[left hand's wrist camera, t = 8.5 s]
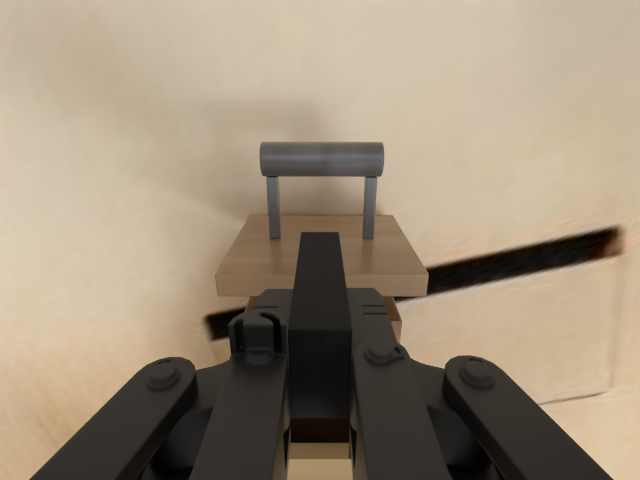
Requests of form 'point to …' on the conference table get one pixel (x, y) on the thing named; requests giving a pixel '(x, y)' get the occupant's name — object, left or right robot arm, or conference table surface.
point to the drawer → (354, 231)
